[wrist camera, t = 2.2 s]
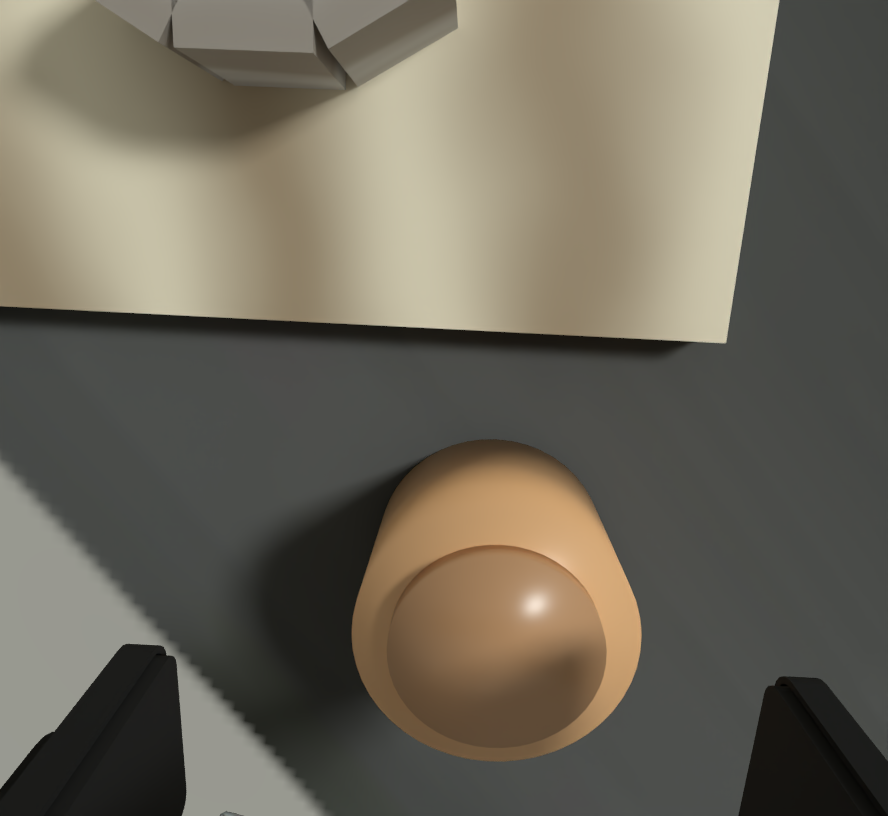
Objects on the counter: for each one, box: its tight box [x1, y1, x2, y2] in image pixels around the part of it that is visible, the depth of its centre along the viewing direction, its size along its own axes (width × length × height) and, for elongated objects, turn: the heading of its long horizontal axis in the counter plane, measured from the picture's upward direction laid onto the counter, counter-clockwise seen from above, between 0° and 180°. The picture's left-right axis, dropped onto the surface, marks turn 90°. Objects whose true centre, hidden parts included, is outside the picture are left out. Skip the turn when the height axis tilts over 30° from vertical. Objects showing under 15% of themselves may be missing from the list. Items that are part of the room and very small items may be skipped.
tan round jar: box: [352, 439, 641, 761], centre depth 16 cm, size 6×6×5 cm
